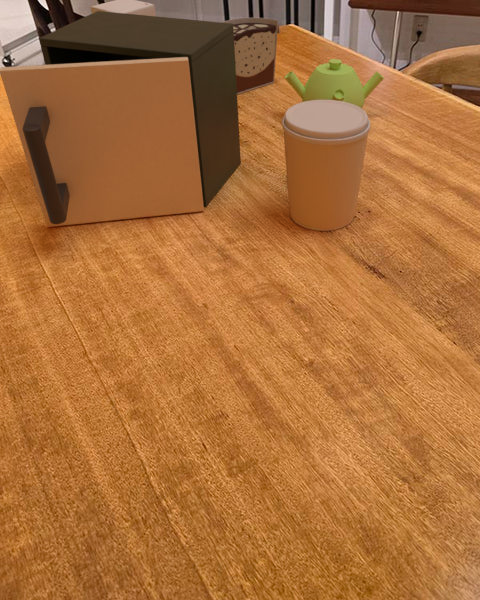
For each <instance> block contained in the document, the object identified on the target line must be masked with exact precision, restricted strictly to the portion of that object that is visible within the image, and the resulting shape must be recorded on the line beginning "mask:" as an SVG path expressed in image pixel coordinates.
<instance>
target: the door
mask: <svg viewBox="0 0 480 600" xmlns="http://www.w3.org/2000/svg"><path fill="white" fill-rule="evenodd" d="M0 78H1V81H2V84H3V87H4V90H5V94H6V97H7V100H8V104H9V107H10V110H11V114H12V117H13V120H14V123H15V124H14V125H15V126H16V130H17V133H18V137H19V139H20V143H21V146H22V149H23V153H24V156H25V159H26V164H27V166H28V169H29V172H30V176H31V179H32V182H33V186H34V188H35V189H34V190H35V192H36V195H37V198H38V202H39V205H40V208H41V212H42V216H43V219H44V222H45V225H46V227H47V228H51V227H60V226H62V227H63V226H71V225H72V226H73V225H81V224H89V223H101V222H109V221H110V222H111V221H119V220H131V219H139V218H148V217H159V216H168V215H179V214H188V213H198V212H204V211H205V207H204V205H203V195H202V186H201V176H200V166H199V157H198V147H197V137H196V128H195V118H194V108H193V99H192V89H191V79H190V70H189V60H188V57H178V58H160V59H142V60H124V61H106V62H88V63H70V64H52V65H45V64H39V65H38V64H36V65H20V66H17V65H16V66H2V67H0Z"/></svg>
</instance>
